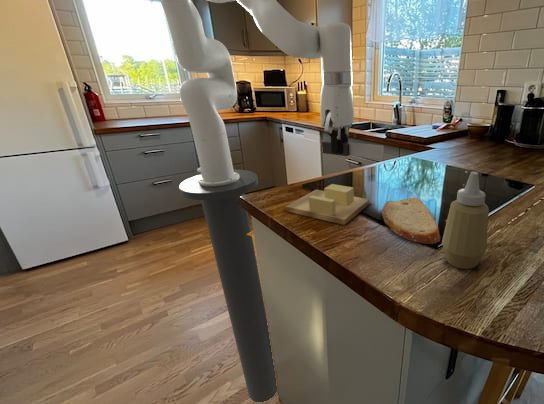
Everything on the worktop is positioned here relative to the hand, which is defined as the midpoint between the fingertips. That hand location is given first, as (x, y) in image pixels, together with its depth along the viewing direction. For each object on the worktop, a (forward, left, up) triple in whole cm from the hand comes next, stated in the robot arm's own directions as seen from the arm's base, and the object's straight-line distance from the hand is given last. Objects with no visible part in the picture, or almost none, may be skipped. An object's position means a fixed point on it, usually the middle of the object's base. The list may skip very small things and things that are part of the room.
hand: (340, 151), depth 82 cm
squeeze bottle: (+37, -17, -14) cm, 43 cm away
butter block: (+2, -5, -13) cm, 14 cm away
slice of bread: (+23, -5, -14) cm, 28 cm away
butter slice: (+2, -13, -13) cm, 18 cm away
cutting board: (0, -7, -14) cm, 16 cm away
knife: (+4, 0, -1) cm, 4 cm away
